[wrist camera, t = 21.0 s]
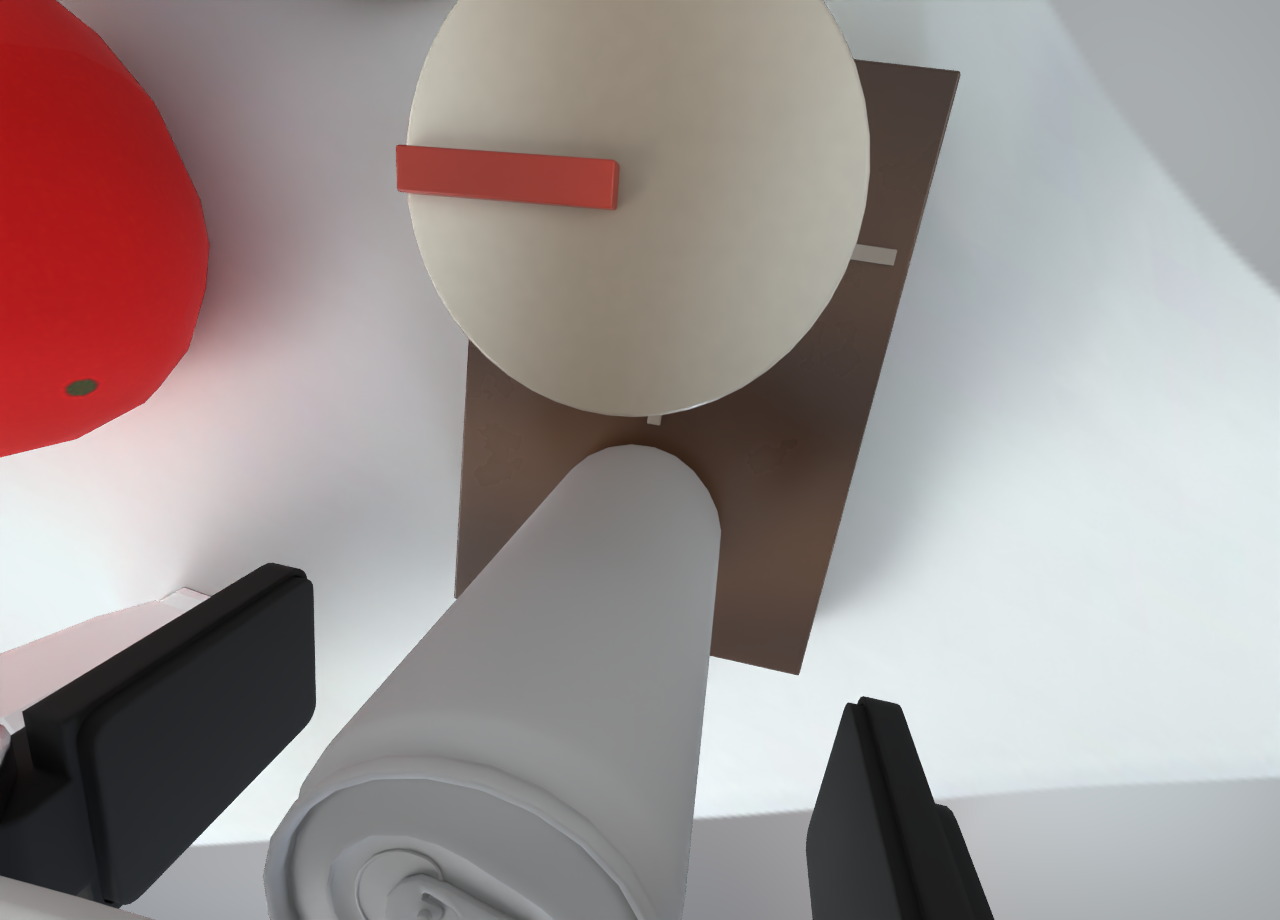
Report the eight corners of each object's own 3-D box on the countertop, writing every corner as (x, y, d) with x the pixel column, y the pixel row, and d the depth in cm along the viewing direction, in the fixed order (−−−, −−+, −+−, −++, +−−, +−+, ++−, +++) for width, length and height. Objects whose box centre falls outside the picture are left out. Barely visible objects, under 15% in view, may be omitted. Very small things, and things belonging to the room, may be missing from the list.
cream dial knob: (830, 97, 14) (930, -115, 6) (788, 361, 16) (825, 450, 8) (574, 83, 15) (381, -120, 7) (562, 336, 17) (398, 395, 9)
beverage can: (602, 407, 17) (320, 674, 6) (755, 491, 17) (767, 921, 6) (533, 543, 19) (207, 959, 7) (672, 620, 19) (558, 1155, 7)
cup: (298, 708, 26) (109, 893, 18) (103, 707, 28) (-142, 873, 20) (249, 553, 24) (14, 686, 16) (42, 563, 26) (-254, 687, 18)
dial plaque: (793, 630, 21) (799, 680, 18) (484, 563, 22) (451, 601, 20) (943, 50, 16) (981, 8, 13) (525, 4, 17) (486, -41, 14)
